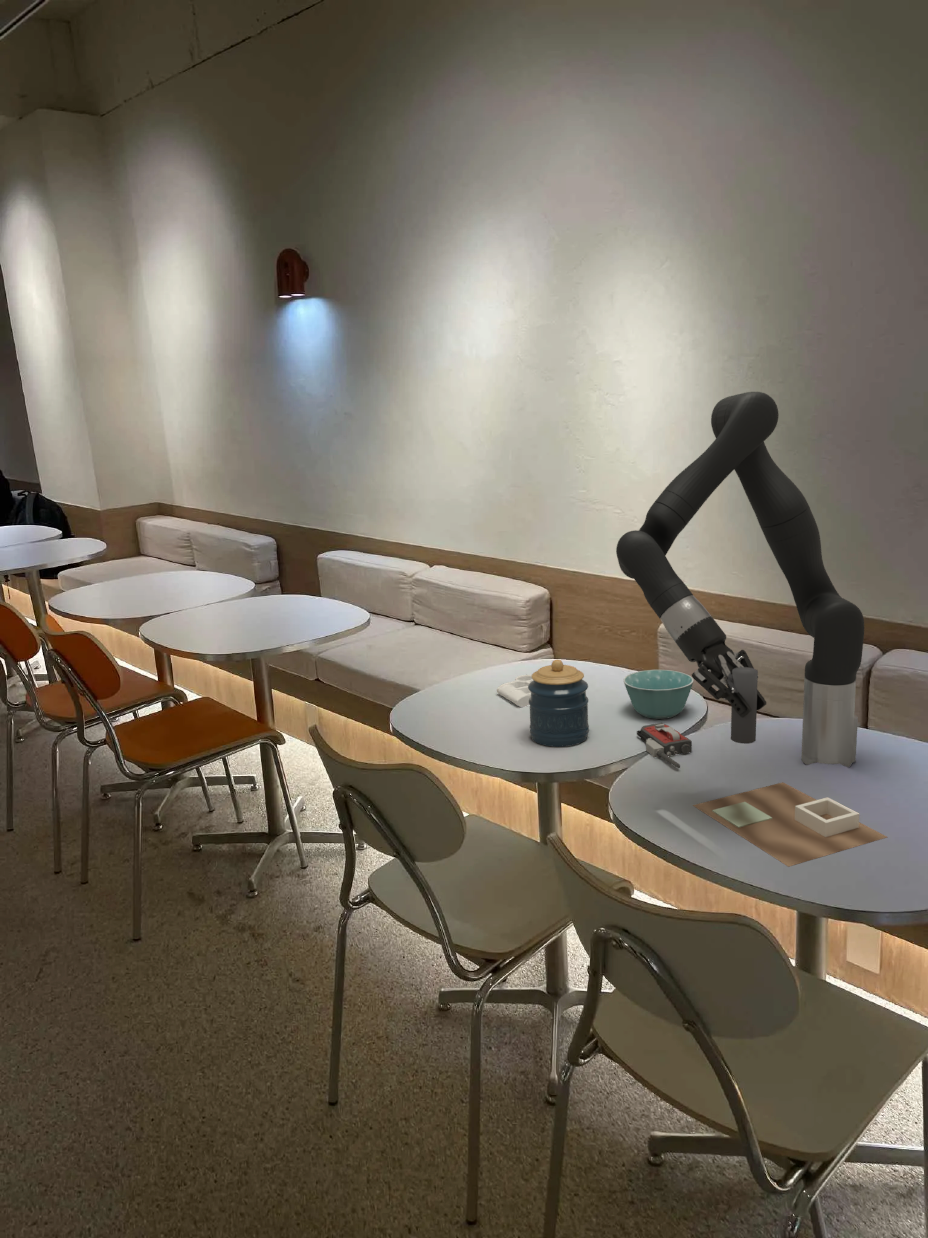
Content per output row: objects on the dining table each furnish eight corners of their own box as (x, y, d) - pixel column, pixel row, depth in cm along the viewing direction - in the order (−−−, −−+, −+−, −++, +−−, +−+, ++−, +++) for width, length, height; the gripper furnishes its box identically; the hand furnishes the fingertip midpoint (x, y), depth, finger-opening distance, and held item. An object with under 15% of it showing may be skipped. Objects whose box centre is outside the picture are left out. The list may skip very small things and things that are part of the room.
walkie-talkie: (627, 739, 195) (673, 774, 176) (627, 720, 194) (673, 753, 175) (664, 733, 197) (713, 767, 178) (663, 714, 196) (713, 746, 177)
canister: (551, 752, 189) (548, 672, 185) (518, 734, 200) (515, 658, 196) (601, 739, 195) (599, 661, 191) (567, 722, 206) (565, 648, 202)
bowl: (610, 715, 209) (609, 681, 207) (649, 697, 220) (649, 664, 218) (668, 730, 198) (668, 694, 196) (706, 710, 209) (706, 676, 207)
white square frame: (827, 810, 154) (827, 797, 153) (858, 827, 147) (859, 813, 147) (794, 819, 151) (795, 806, 151) (825, 837, 145) (826, 823, 144)
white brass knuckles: (491, 693, 230) (541, 683, 236) (523, 713, 214) (577, 703, 220) (490, 680, 229) (541, 671, 235) (523, 700, 213) (576, 689, 219)
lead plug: (745, 733, 153) (746, 665, 150) (760, 740, 150) (763, 672, 147) (725, 737, 152) (727, 669, 149) (741, 745, 148) (743, 675, 145)
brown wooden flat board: (782, 789, 166) (783, 781, 166) (887, 845, 144) (887, 836, 144) (692, 813, 159) (692, 804, 158) (788, 875, 137) (788, 865, 137)
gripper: (681, 624, 147) (746, 710, 141) (729, 607, 156) (792, 688, 150) (654, 649, 152) (716, 734, 146) (702, 632, 161) (762, 711, 155)
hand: (754, 710), depth 148 cm, fingers closed on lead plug, 4 cm apart
